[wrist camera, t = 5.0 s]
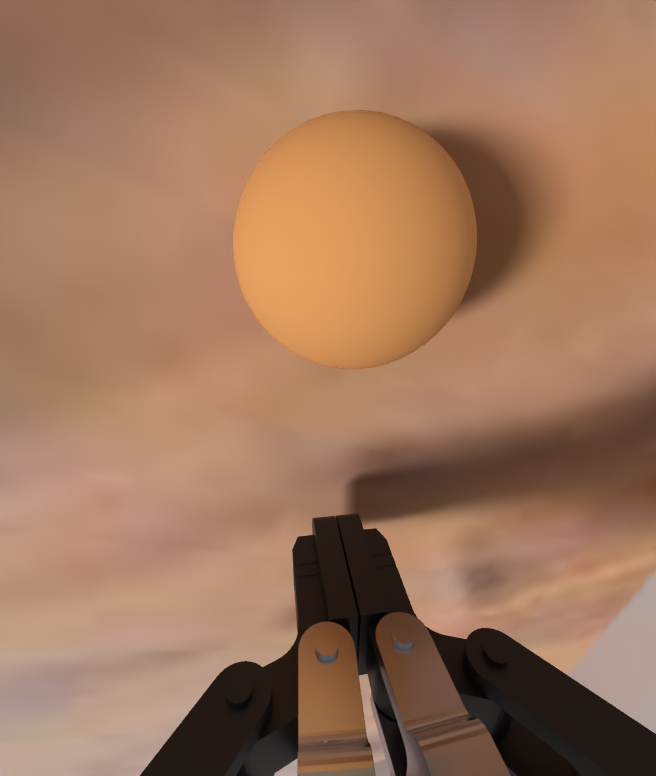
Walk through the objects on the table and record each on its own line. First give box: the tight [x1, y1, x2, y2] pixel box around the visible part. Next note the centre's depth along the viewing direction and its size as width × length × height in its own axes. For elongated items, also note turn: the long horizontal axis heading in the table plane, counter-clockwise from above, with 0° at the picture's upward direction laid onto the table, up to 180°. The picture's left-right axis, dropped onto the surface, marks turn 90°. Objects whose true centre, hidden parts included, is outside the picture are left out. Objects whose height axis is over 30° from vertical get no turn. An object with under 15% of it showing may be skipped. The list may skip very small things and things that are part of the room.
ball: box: [233, 110, 477, 369], centre depth 8 cm, size 5×5×5 cm
